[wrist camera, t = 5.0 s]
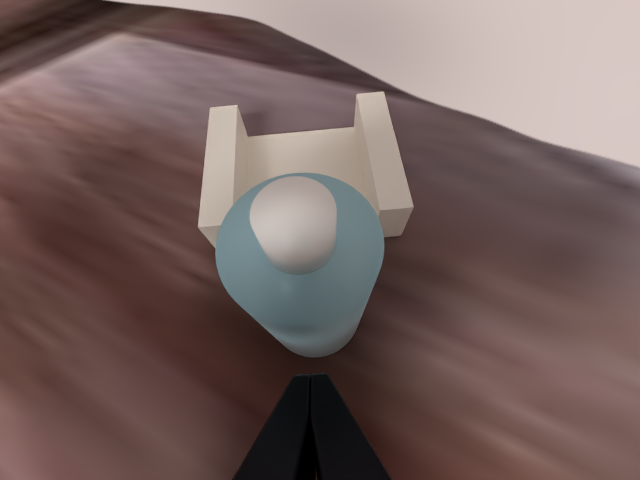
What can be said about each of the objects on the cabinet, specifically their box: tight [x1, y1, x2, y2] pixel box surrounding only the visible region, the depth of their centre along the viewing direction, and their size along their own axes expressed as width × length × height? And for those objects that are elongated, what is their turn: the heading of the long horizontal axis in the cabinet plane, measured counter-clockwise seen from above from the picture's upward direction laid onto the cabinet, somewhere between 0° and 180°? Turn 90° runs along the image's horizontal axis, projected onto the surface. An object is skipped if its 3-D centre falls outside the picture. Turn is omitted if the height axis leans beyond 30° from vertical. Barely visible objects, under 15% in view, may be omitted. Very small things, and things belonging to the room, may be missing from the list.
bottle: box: [215, 173, 385, 358], centre depth 11 cm, size 5×5×10 cm
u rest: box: [198, 92, 414, 249], centre depth 18 cm, size 8×10×3 cm
